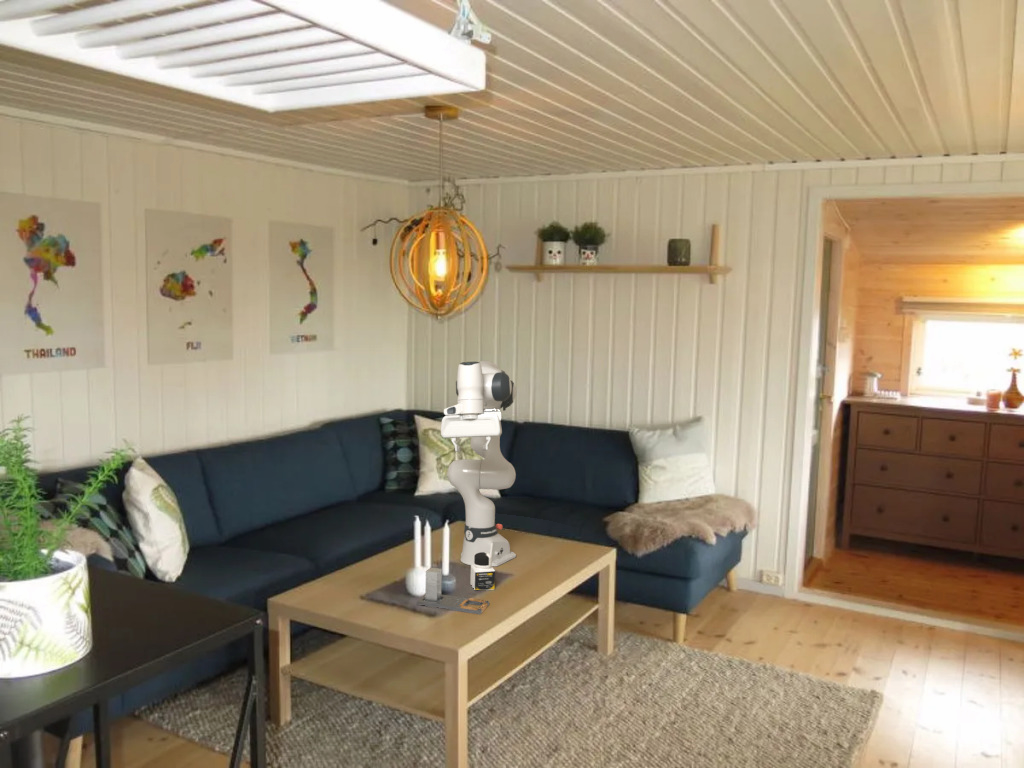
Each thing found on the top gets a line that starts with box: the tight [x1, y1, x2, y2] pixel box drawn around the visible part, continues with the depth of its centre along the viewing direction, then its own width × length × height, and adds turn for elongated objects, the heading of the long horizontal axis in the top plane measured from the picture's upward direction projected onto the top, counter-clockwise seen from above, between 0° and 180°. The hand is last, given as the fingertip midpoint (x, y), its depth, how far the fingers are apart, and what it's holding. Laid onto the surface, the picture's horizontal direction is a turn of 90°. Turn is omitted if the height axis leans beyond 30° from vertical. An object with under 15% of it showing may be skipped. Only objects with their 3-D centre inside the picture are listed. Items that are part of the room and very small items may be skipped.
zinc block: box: [424, 567, 443, 603], centre depth 288 cm, size 4×4×11 cm
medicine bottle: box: [469, 552, 496, 591], centre depth 303 cm, size 7×7×12 cm
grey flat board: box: [416, 594, 490, 615], centre depth 286 cm, size 9×22×1 cm, turn 73°
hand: (471, 451), depth 289 cm, fingers open, 8 cm apart
